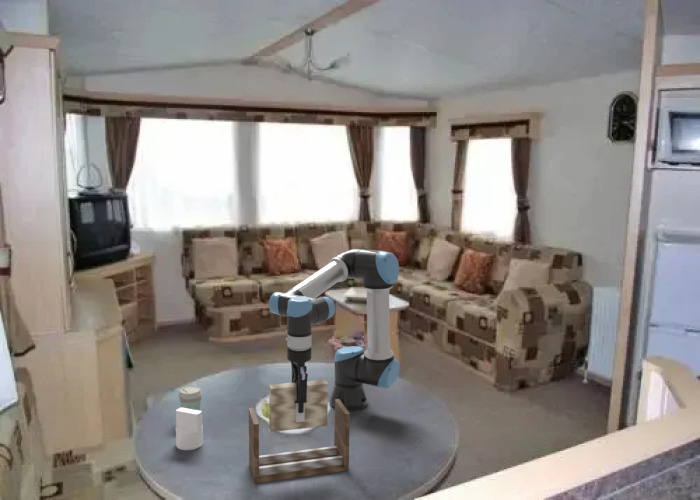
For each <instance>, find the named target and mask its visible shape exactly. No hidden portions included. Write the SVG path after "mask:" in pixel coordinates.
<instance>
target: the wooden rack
mask: <svg viewBox="0 0 700 500" xmlns="http://www.w3.org/2000/svg"><path fill="white" fill-rule="evenodd" d="M350 418H351V414H350V411H348V410H347V409H346V408H345V406H344V405H343V403H342V402H341V401H340V399H335V408H334V435H333V436H334V437H333V438H334V440H333V441H334V442H333V443H334V444H333V446H325V447H324V446H323V447H317V448H309V449H302V450H295V451H285V452H277V453H271V454H263V455H260V423H259V420H258V417H257V414H256V411H255V408H254V407H248V464H249V468H250V473H251V475H252V480H253V484H260V483H268V482H275V481H281V480H290V479H297V478H301V477H309V476H317V475H322V474H323V475H325V474H332V473H339V472H344V471H345V472H346V471H349V470H350V428H351V425H350V422H351V419H350Z"/></svg>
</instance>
